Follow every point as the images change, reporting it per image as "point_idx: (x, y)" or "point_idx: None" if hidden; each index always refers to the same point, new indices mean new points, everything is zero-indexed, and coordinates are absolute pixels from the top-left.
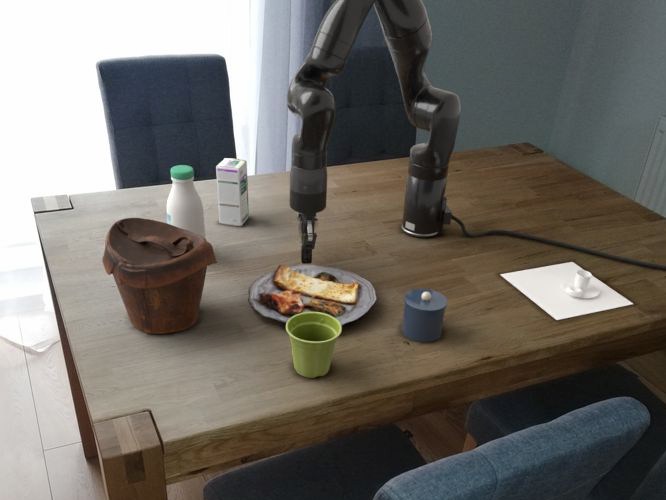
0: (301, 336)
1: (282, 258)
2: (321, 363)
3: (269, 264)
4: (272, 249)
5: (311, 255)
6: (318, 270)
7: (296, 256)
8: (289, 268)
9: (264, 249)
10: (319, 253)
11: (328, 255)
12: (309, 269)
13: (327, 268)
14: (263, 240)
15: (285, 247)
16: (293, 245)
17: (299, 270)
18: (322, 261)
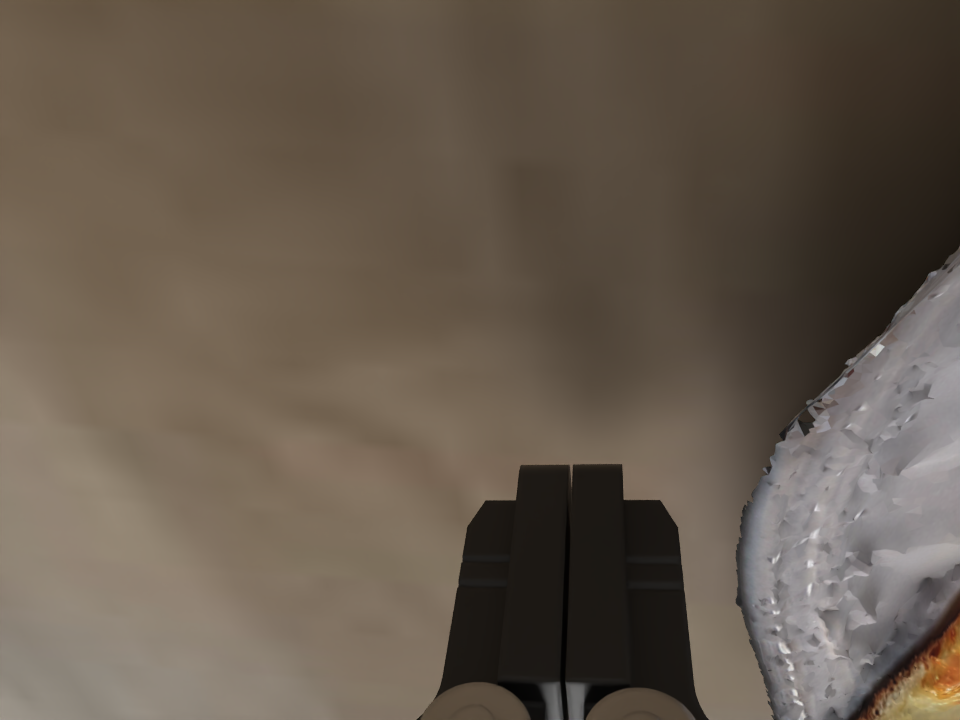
0: None
1: (355, 617)
2: None
3: None
4: (180, 666)
5: (624, 560)
6: (918, 398)
7: (277, 507)
8: (813, 697)
9: (202, 711)
10: (108, 258)
11: (128, 131)
12: (857, 506)
13: (947, 281)
14: (27, 703)
15: (94, 577)
16: (13, 513)
17: (875, 612)
18: (354, 233)
